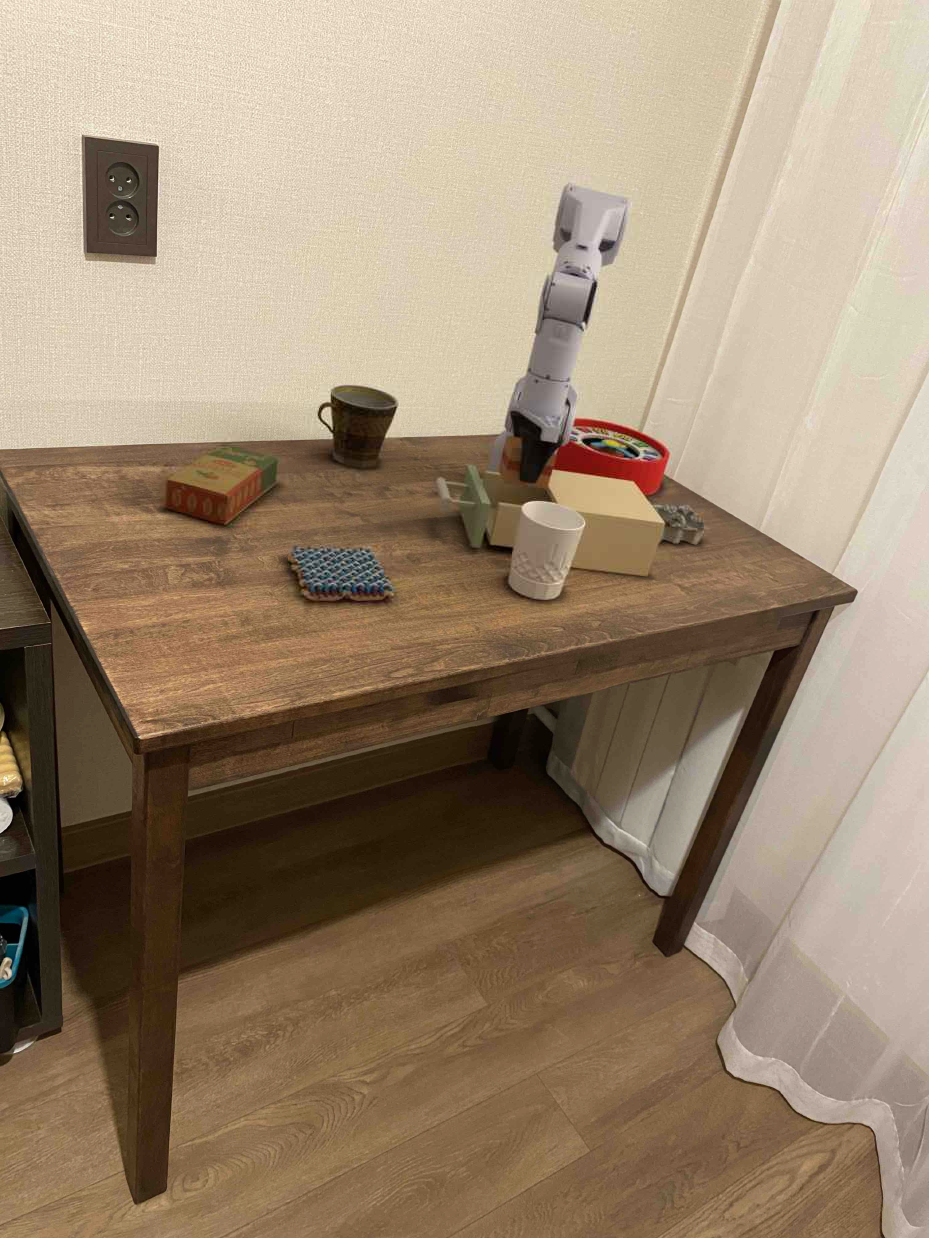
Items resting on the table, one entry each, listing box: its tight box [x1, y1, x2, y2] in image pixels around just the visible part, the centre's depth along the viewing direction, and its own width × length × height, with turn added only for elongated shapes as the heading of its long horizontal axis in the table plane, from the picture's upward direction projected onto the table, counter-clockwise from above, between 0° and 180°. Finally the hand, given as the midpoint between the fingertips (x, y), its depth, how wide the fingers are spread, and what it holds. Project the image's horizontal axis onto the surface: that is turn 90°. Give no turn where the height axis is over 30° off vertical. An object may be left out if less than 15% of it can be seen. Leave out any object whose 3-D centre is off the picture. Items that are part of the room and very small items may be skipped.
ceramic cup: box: [317, 384, 399, 469], centre depth 136 cm, size 13×10×10 cm
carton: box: [164, 443, 279, 525], centre depth 117 cm, size 8×16×4 cm, turn 168°
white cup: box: [507, 501, 585, 601], centre depth 112 cm, size 8×8×10 cm
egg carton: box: [651, 503, 710, 545], centre depth 138 cm, size 11×8×4 cm
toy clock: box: [553, 417, 671, 496], centre depth 157 cm, size 20×6×20 cm
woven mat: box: [287, 545, 395, 602], centre depth 105 cm, size 10×11×2 cm
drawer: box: [434, 464, 553, 549], centre depth 124 cm, size 18×13×6 cm
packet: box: [499, 436, 557, 489], centre depth 121 cm, size 6×4×5 cm
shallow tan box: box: [546, 469, 665, 577], centre depth 127 cm, size 15×14×8 cm
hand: (523, 474), depth 121 cm, fingers closed on packet, 4 cm apart
